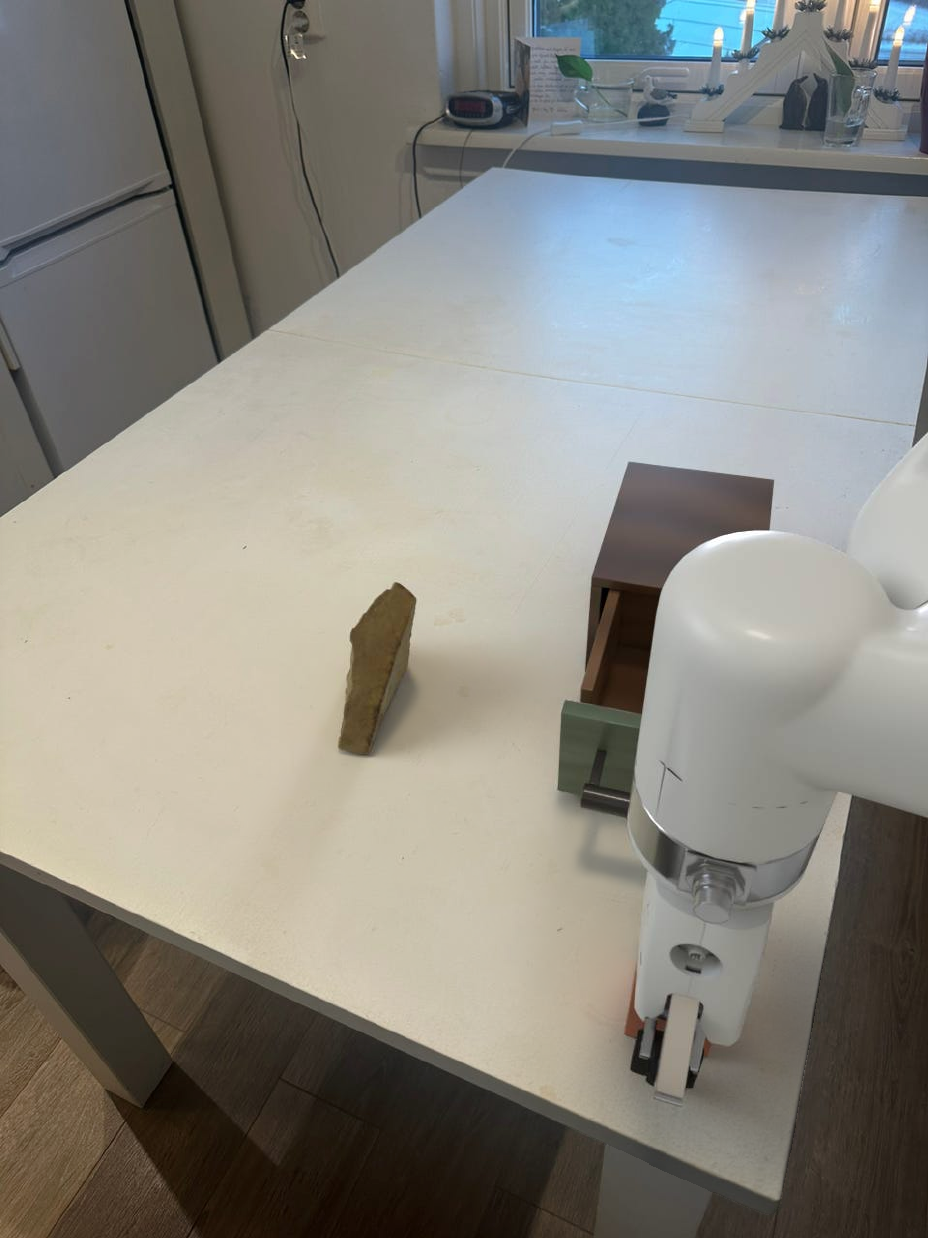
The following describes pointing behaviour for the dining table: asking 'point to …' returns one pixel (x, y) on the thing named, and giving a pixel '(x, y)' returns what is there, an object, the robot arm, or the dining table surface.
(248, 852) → the dining table surface
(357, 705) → the rock
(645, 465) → the cabinet
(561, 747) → the drawer
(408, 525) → the dining table surface
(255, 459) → the dining table surface
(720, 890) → the robot arm
